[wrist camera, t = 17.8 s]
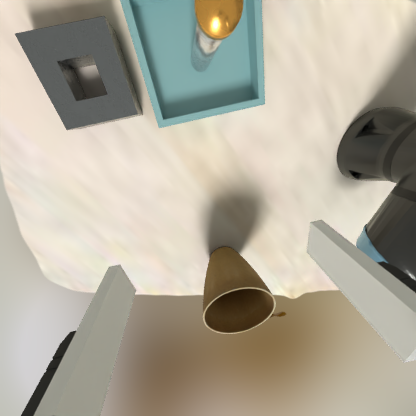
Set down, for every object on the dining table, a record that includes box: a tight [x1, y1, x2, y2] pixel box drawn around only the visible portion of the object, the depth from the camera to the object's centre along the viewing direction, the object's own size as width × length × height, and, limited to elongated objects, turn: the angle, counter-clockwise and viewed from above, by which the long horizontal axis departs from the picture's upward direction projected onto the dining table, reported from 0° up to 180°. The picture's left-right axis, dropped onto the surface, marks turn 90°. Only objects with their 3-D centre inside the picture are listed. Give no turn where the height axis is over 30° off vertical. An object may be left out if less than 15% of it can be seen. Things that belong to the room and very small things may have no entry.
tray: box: [120, 0, 265, 128], centre depth 26 cm, size 18×16×4 cm
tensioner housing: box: [15, 16, 143, 130], centre depth 26 cm, size 11×11×4 cm
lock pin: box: [191, 0, 243, 72], centre depth 21 cm, size 4×4×15 cm
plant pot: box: [203, 247, 276, 334], centre depth 41 cm, size 15×15×16 cm
